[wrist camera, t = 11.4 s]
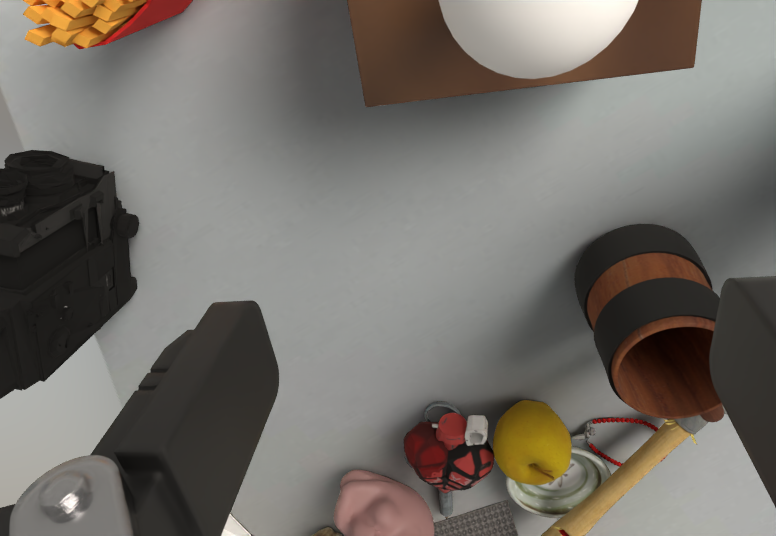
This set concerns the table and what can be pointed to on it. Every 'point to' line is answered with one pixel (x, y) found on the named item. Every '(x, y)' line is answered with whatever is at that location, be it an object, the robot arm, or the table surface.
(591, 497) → the novelty tool
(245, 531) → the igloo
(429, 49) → the shelf
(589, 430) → the necklace
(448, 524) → the grey studded plate
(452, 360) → the table surface
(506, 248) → the table surface
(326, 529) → the figurine
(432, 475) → the grenade
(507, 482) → the saucer
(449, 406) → the scissors
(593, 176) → the table surface
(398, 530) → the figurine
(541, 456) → the apple
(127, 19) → the french fries
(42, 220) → the camera
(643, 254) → the mug
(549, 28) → the lightbulb
